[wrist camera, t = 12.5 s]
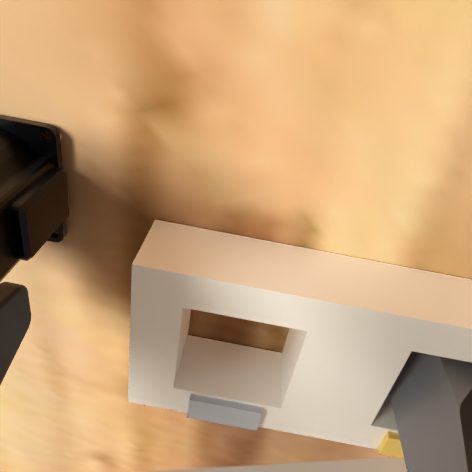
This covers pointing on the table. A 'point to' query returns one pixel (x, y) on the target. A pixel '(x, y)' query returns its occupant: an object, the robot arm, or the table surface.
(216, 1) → the table surface
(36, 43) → the table surface
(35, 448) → the table surface
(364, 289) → the socket block
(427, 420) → the plug
